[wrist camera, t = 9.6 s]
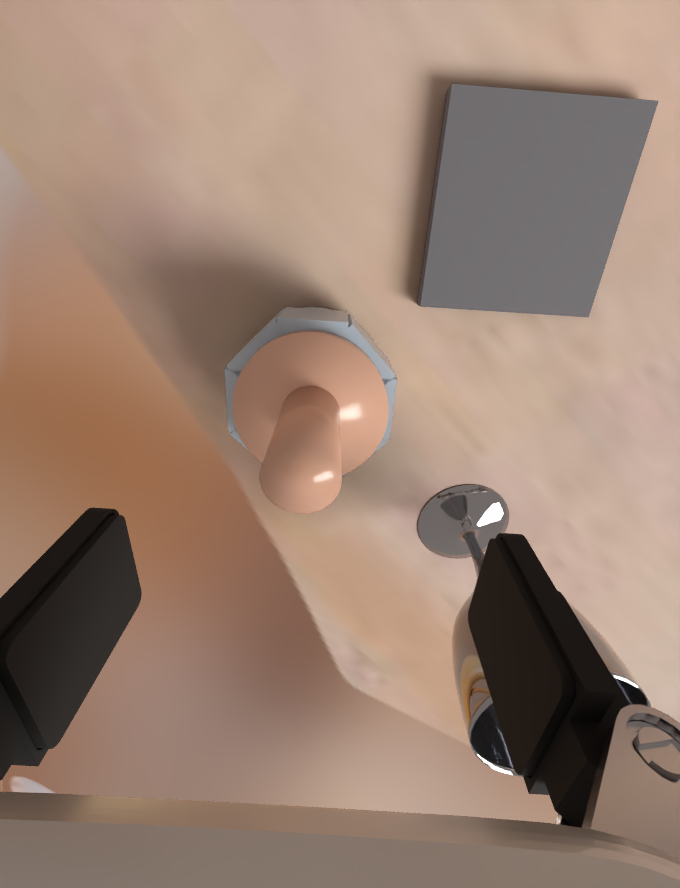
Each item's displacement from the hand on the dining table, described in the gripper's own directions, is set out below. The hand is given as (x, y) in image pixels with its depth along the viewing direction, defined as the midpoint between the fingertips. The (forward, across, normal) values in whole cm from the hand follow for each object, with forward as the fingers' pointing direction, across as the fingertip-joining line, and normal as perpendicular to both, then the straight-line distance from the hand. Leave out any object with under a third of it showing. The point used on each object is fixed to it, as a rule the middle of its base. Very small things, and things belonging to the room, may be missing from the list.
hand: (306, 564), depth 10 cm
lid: (+12, +1, 0) cm, 12 cm away
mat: (+18, -10, -10) cm, 22 cm away
